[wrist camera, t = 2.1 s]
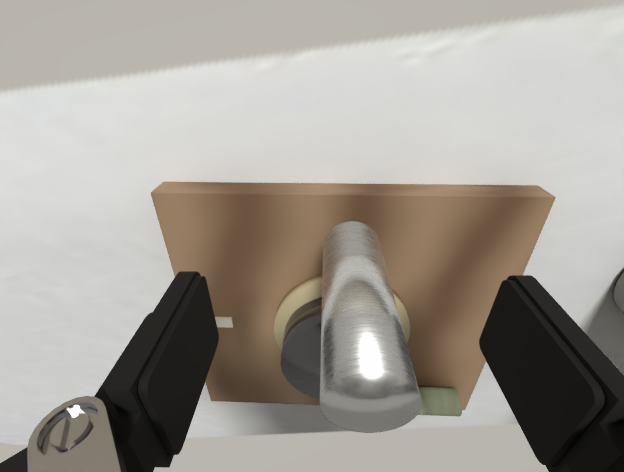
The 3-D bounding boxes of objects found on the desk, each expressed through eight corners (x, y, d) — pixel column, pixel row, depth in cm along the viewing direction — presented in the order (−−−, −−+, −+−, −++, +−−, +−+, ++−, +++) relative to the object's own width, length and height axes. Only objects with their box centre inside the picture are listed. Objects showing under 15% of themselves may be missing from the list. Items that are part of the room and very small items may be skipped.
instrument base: (537, 185, 17) (581, 214, 14) (457, 392, 26) (474, 434, 23) (163, 182, 17) (131, 208, 14) (216, 383, 27) (203, 423, 24)
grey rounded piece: (426, 201, 14) (539, 379, 7) (391, 375, 21) (429, 566, 13) (274, 200, 15) (216, 368, 7) (287, 372, 21) (264, 556, 14)
